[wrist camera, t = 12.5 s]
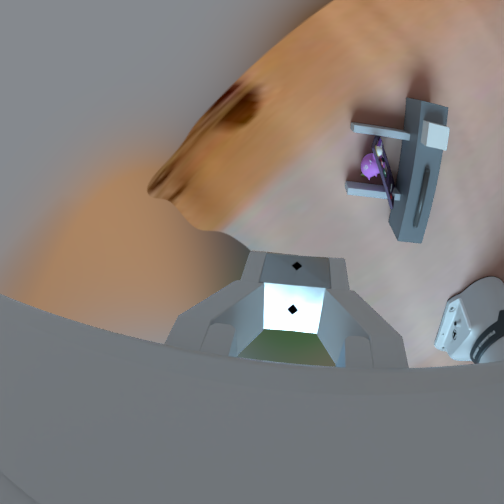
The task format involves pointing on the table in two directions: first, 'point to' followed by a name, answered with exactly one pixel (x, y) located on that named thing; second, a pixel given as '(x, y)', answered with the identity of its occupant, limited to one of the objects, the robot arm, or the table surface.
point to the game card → (379, 168)
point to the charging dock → (411, 167)
